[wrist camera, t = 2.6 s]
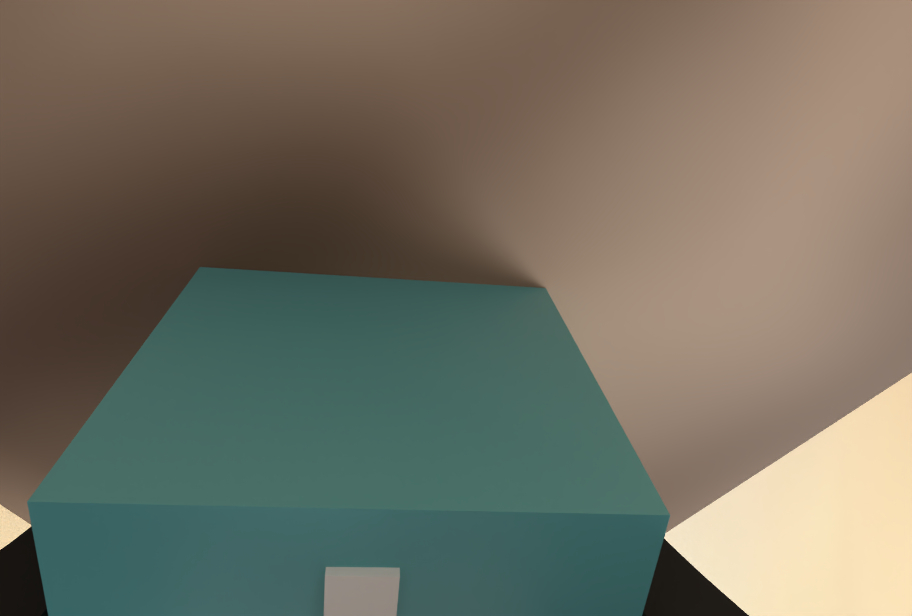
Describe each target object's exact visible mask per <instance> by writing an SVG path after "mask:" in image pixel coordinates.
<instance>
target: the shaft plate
mask: <svg viewBox="0 0 912 616" xmlns="http://www.w3.org/2000/svg"><path fill="white" fill-rule="evenodd" d="M200 267H208V268H225V269H241V270H257V271H274V272H290V273H307V274H323V275H339V276H356V277H372V278H389V279H405V280H421V281H438V282H454V283H471V284H487V285H503V286H520V287H536V288H546V289H547V291H548V293H549V295H550V297H551V299H552V300H553V302H554V304H555V306H556V308H557V310H558V311H559V313H560V315H561V317H562V319H563V320H564V322H565V324H566V326H567V328H568V330H569V331H570V333H571V335H572V337H573V339H574V341H575V342H576V344H577V346H578V348H579V350H580V352H581V353H582V355H583V357H584V359H585V361H586V362H587V364H588V366H589V368H590V370H591V372H592V373H593V375H594V377H595V379H596V381H597V383H598V384H599V386H600V388H601V390H602V392H603V393H604V395H605V397H606V399H607V401H608V403H609V404H610V406H611V408H612V410H613V412H614V414H615V415H616V417H617V419H618V421H619V423H620V424H621V426H622V428H623V430H624V432H625V434H626V435H627V437H628V439H629V441H630V443H631V445H632V446H633V448H634V450H635V452H636V454H637V455H638V457H639V459H640V461H641V463H642V465H643V466H644V468H645V470H646V472H647V474H648V476H649V477H650V479H651V481H652V483H653V485H654V486H655V488H656V490H657V492H658V494H659V496H660V497H661V499H662V501H663V503H664V505H665V507H666V508H667V510H668V512H669V514H670V518H669V522H668V525H667V529H666V532H668V531H669V530H671V529H672V528H674V527H675V526H677V525H678V524H680V523H682V522H683V521H685V520H686V519H688V518H689V517H691V516H692V515H694V514H695V513H697V512H698V511H700V510H701V509H703V508H705V507H706V506H708V505H709V504H711V503H712V502H714V501H715V500H717V499H718V498H720V497H721V496H723V495H725V494H726V493H728V492H729V491H731V490H732V489H734V488H735V487H737V486H738V485H740V484H741V483H743V482H744V481H746V480H748V479H749V478H751V477H752V476H754V475H755V474H757V473H758V472H760V471H761V470H763V469H764V468H766V467H767V466H769V465H771V464H772V463H774V462H775V461H777V460H778V459H780V458H781V457H783V456H784V455H786V454H787V453H789V452H790V451H792V450H794V449H795V448H797V447H798V446H800V445H801V444H803V443H804V442H806V441H807V440H809V439H810V438H812V437H813V436H815V435H817V434H818V433H820V432H821V431H823V430H824V429H826V428H827V427H829V426H830V425H832V424H833V423H835V422H837V421H838V420H840V419H841V418H843V417H844V416H846V415H847V414H849V413H850V412H852V411H853V410H855V409H856V408H858V407H860V406H861V405H863V404H864V403H866V402H867V401H869V400H870V399H872V398H873V397H875V396H876V395H878V394H879V393H881V392H883V391H884V390H886V389H887V388H889V387H890V386H892V385H893V384H895V383H896V382H898V381H899V380H901V379H902V378H904V377H906V376H907V375H909V374H910V373H912V0H0V504H1V505H2V506H4V507H5V508H7V509H8V510H10V511H11V512H13V513H14V514H16V515H17V516H19V517H20V518H22V519H23V520H25V521H26V522H28V523H29V524H31V520H30V515H29V510H28V504H27V501H28V500H29V499H30V497H31V496H32V494H33V493H34V492H35V490H36V489H37V488H38V486H39V485H40V484H41V482H42V481H43V480H44V478H45V477H46V475H47V474H48V473H49V471H50V470H51V469H52V467H53V466H54V465H55V463H56V462H57V461H58V459H59V458H60V456H61V455H62V454H63V452H64V451H65V450H66V448H67V447H68V446H69V444H70V443H71V442H72V440H73V439H74V437H75V436H76V435H77V433H78V432H79V431H80V429H81V428H82V427H83V425H84V424H85V423H86V421H87V420H88V418H89V417H90V416H91V414H92V413H93V412H94V410H95V409H96V408H97V406H98V405H99V404H100V402H101V401H102V399H103V398H104V397H105V395H106V394H107V393H108V391H109V390H110V389H111V387H112V386H113V384H114V383H115V382H116V380H117V379H118V378H119V376H120V375H121V374H122V372H123V371H124V370H125V368H126V367H127V365H128V364H129V363H130V361H131V360H132V359H133V357H134V356H135V355H136V353H137V352H138V351H139V349H140V348H141V346H142V345H143V344H144V342H145V341H146V340H147V338H148V337H149V336H150V334H151V333H152V332H153V330H154V329H155V327H156V326H157V325H158V323H159V322H160V321H161V319H162V318H163V317H164V315H165V314H166V313H167V311H168V310H169V308H170V307H171V306H172V304H173V303H174V302H175V300H176V299H177V298H178V296H179V295H180V293H181V292H182V291H183V289H184V288H185V287H186V285H187V284H188V283H189V281H190V280H191V279H192V277H193V276H194V274H195V273H196V272H197V270H198V269H199V268H200ZM666 532H665V533H666Z"/></svg>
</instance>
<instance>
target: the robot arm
mask: <svg viewBox="0 0 912 616" xmlns="http://www.w3.org/2000/svg"><path fill="white" fill-rule="evenodd" d="M0 616H48V611H47V606H46V600H45V595H44V590H43V584H42V579H41V574H40V568H39V563H38V558H37V552H36V547H35V542H34V536H33V531H32V526H31V527H30V528H29V529H28V530H26V531H25V532H24V533H22V534H21V535H20V536H19V537H17V538H16V539H15V540H14V541H12V542H11V543H10V544H8V545H7V546H5V547H4V548H3V549H1V550H0ZM642 616H749V615H747V614H746V613H745V612H744V611H743V610H742V609H741V608H739V607H738V606H737V605H736V604H735V603H734V602H733V601H731V600H730V599H729V598H728V597H727V596H726V595H725V594H723V593H722V592H721V591H720V590H719V589H718V588H717V587H715V586H714V585H713V584H712V583H711V582H710V581H709V580H707V579H706V578H705V577H704V576H703V575H702V574H701V573H700V572H699V571H698V570H697V569H696V568H694V567H693V566H692V565H691V564H690V563H689V562H688V561H687V560H686V559H685V558H684V557H683V556H682V555H681V554H680V553H679V552H677V551H676V550H675V549H674V548H673V547H672V546H671V545H670V544H669V543H668V542H667V541H666V540H665V539H663V543H662V546H661V550H660V554H659V557H658V561H657V564H656V568H655V571H654V575H653V578H652V582H651V586H650V589H649V593H648V596H647V600H646V603H645V607H644V610H643V614H642Z"/></svg>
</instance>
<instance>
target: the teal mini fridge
mask: <svg viewBox="0 0 912 616" xmlns="http://www.w3.org/2000/svg"><path fill="white" fill-rule="evenodd" d="M27 504H28V510H29V515H30V520H31V526H32V531H33V536H34V542H35V547H36V552H37V558H38V563H39V568H40V574H41V579H42V584H43V590H44V595H45V600H46V606H47V611H48V616H642V614H643V610H644V607H645V603H646V600H647V596H648V593H649V589H650V586H651V582H652V578H653V575H654V571H655V568H656V564H657V561H658V557H659V554H660V550H661V546H662V543H663V539H664V536H665V532H666V529H667V525H668V522H669V518H670V514H669V512H668V510H667V508H666V507H665V505H664V503H663V501H662V499H661V497H660V496H659V494H658V492H657V490H656V488H655V486H654V485H653V483H652V481H651V479H650V477H649V476H648V474H647V472H646V470H645V468H644V466H643V465H642V463H641V461H640V459H639V457H638V455H637V454H636V452H635V450H634V448H633V446H632V445H631V443H630V441H629V439H628V437H627V435H626V434H625V432H624V430H623V428H622V426H621V424H620V423H619V421H618V419H617V417H616V415H615V414H614V412H613V410H612V408H611V406H610V404H609V403H608V401H607V399H606V397H605V395H604V393H603V392H602V390H601V388H600V386H599V384H598V383H597V381H596V379H595V377H594V375H593V373H592V372H591V370H590V368H589V366H588V364H587V362H586V361H585V359H584V357H583V355H582V353H581V352H580V350H579V348H578V346H577V344H576V342H575V341H574V339H573V337H572V335H571V333H570V331H569V330H568V328H567V326H566V324H565V322H564V320H563V319H562V317H561V315H560V313H559V311H558V310H557V308H556V306H555V304H554V302H553V300H552V299H551V297H550V295H549V293H548V291H547V289H546V288H536V287H520V286H503V285H487V284H471V283H454V282H438V281H421V280H405V279H389V278H372V277H356V276H339V275H323V274H307V273H290V272H274V271H257V270H241V269H225V268H208V267H200V268H199V269H198V270H197V272H196V273H195V274H194V276H193V277H192V279H191V280H190V281H189V283H188V284H187V285H186V287H185V288H184V289H183V291H182V292H181V293H180V295H179V296H178V298H177V299H176V300H175V302H174V303H173V304H172V306H171V307H170V308H169V310H168V311H167V313H166V314H165V315H164V317H163V318H162V319H161V321H160V322H159V323H158V325H157V326H156V327H155V329H154V330H153V332H152V333H151V334H150V336H149V337H148V338H147V340H146V341H145V342H144V344H143V345H142V346H141V348H140V349H139V351H138V352H137V353H136V355H135V356H134V357H133V359H132V360H131V361H130V363H129V364H128V365H127V367H126V368H125V370H124V371H123V372H122V374H121V375H120V376H119V378H118V379H117V380H116V382H115V383H114V384H113V386H112V387H111V389H110V390H109V391H108V393H107V394H106V395H105V397H104V398H103V399H102V401H101V402H100V404H99V405H98V406H97V408H96V409H95V410H94V412H93V413H92V414H91V416H90V417H89V418H88V420H87V421H86V423H85V424H84V425H83V427H82V428H81V429H80V431H79V432H78V433H77V435H76V436H75V437H74V439H73V440H72V442H71V443H70V444H69V446H68V447H67V448H66V450H65V451H64V452H63V454H62V455H61V456H60V458H59V459H58V461H57V462H56V463H55V465H54V466H53V467H52V469H51V470H50V471H49V473H48V474H47V475H46V477H45V478H44V480H43V481H42V482H41V484H40V485H39V486H38V488H37V489H36V490H35V492H34V493H33V494H32V496H31V497H30V499H29V500H28V501H27Z"/></svg>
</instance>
